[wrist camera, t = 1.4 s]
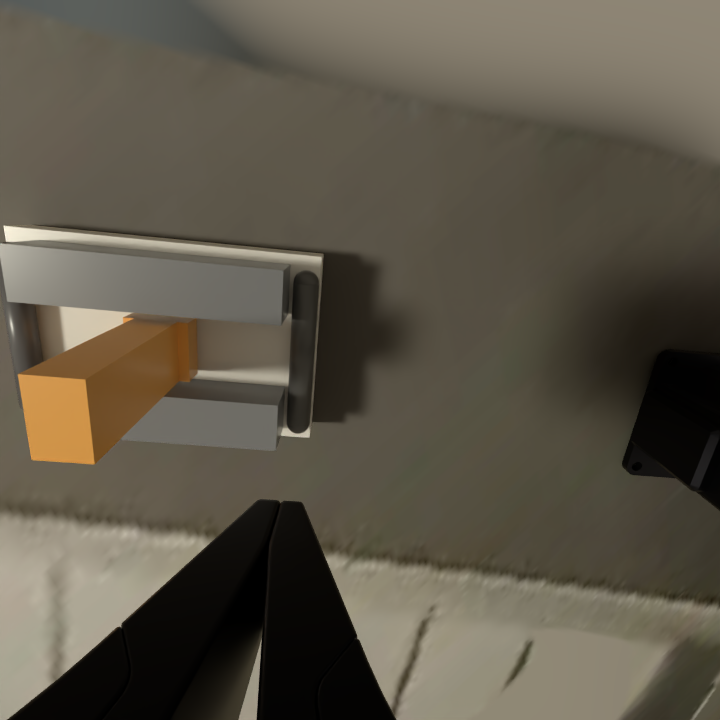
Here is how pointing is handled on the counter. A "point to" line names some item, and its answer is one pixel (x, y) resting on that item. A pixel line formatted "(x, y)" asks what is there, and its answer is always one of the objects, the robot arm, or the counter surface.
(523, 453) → the counter surface
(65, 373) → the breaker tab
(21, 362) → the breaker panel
